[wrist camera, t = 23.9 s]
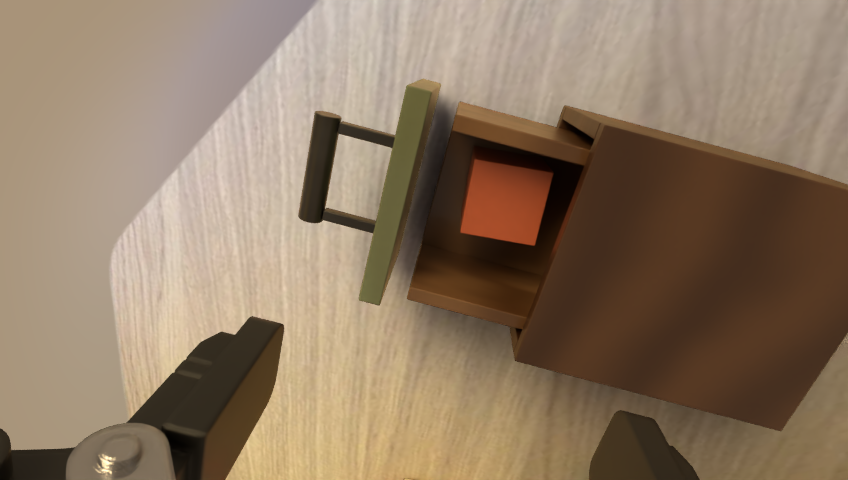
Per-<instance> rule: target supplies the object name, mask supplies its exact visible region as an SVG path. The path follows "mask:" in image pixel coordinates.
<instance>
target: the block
mask: <svg viewBox="0 0 848 480" xmlns="http://www.w3.org/2000/svg"><path fill="white" fill-rule="evenodd" d="M553 175H554V173H553V171H552V170H551V169H550V167H549V166H548V165H547V163H546V162H545V161H544V159H543V158H542V157H537V156H531V155H525V154H519V153H513V152H508V151H502V150H496V149H490V148H484V147H479V146H474V147H473V152H472V157H471V163H470V168H469V173H468V178H467V183H466V188H465V194H464V199H463V204H462V209H461V226H460V233H464V234H469V235H475V236H480V237H486V238H492V239H497V240H503V241H509V242H514V243H520V244H526V245H531V246H535V244H536V240H537V236H538V232H539V229H540V225H541V221H542V217H543V213H544V209H545V205H546V202H547V198H548V194H549V190H550V186H551V182H552V178H553Z"/></svg>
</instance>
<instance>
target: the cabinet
mask: <svg viewBox="0 0 848 480" xmlns="http://www.w3.org/2000/svg"><path fill="white" fill-rule="evenodd" d="M557 128H561V129H564V130H568V131H572V132H575V133H579V134H583V135H587V136H590V137H591V138H593V139H594V142H593V145H592V147H591V150H590V153H589V155H588V158H587V160H586V163H585V166H584V168H583V171H582V174H581V176H580V179H579V182H578V184H577V187H576V189H575V192H574V195H573V197H572V200H571V203H570V205H569V208H568V211H567V213H566V216H565V218H564V221H563V224H562V226H561V229H560V232H559V234H558V237H557V240H556V242H555V245H554V247H553V250H552V253H551V255H550V258H549V261H548V263H547V266H546V269H545V271H544V274H543V276H542V279H541V282H540V284H539V287H538V290H537V292H536V295H535V297H534V300H533V303H532V305H531V308H530V311H529V313H528V316H527V319H526V321H525V324H524V326H523V329H518V328H514V327H510V326H509V327H510V333H511V340H512V346H513V352H514V358H515V361H517V362H521V363H525V364H529V365H532V366H536V367H540V368H544V369H547V370H551V371H555V372H559V373H563V374H566V375H570V376H574V377H578V378H581V379H585V380H589V381H593V382H597V383H600V384H604V385H608V386H612V387H615V388H619V389H623V390H627V391H631V392H634V393H638V394H642V395H646V396H649V397H653V398H657V399H661V400H665V401H668V402H672V403H676V404H680V405H683V406H687V407H691V408H695V409H699V410H702V411H706V412H710V413H714V414H717V415H721V416H725V417H729V418H733V419H736V420H740V421H744V422H748V423H751V424H755V425H759V426H763V427H767V428H770V429H774V430H778V431H782V429H783V428H784V426H785V425H786V424H787V422H788V421H789V419H790V418H791V416H792V415H793V413H794V412H795V410H796V409H797V407H798V406H799V404H800V403H801V401H802V400H803V398H804V397H805V395H806V394H807V392H808V391H809V390H810V388H811V387H812V385H813V384H814V382H815V381H816V379H817V378H818V376H819V375H820V373H821V372H822V370H823V369H824V367H825V366H826V364H827V363H828V361H829V360H830V358H831V357H832V356H833V354H834V353H835V351H836V350H837V348H838V347H839V345H840V344H841V342H842V341H843V339H844V338H845V336H846V335H847V333H848V185H847V184H844V183H841V182H838V181H835V180H832V179H829V178H826V177H823V176H820V175H817V174H814V173H811V172H808V171H805V170H802V169H799V168H796V167H793V166H789V165H786V164H782V163H778V162H774V161H771V160H767V159H763V158H760V157H756V156H752V155H748V154H745V153H741V152H737V151H733V150H730V149H726V148H722V147H719V146H715V145H711V144H707V143H704V142H700V141H696V140H692V139H689V138H685V137H681V136H678V135H674V134H670V133H666V132H663V131H659V130H655V129H651V128H648V127H644V126H640V125H637V124H633V123H629V122H625V121H622V120H618V119H614V118H611V117H607V116H603V115H599V114H596V113H592V112H588V111H584V110H581V109H577V108H573V107H570V106H566V105H565V106H564V107H563V110H562V113H561V116H560V119H559V121H558V124H557Z"/></svg>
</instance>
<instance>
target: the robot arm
mask: <svg viewBox="0 0 848 480" xmlns="http://www.w3.org/2000/svg"><path fill="white" fill-rule="evenodd" d="M283 333H284V325H283V324H281V323H277V322H273V321H269V320H265V319H261V318H257V317H253V316H252V317H250V318H249V319H248V320H247V321H246V322H245V324H244V325H243V326H242V327H241V328H240V330H239V331H238V332H237V333H236V335H232V334H229V333H225V332H220V333H218V334H216V335H214V336H212V337H210V338H208V339H206V340H204V341H202V342H200V343H199V345H198V346H197V347H196V348H195V349H194V350H193V351H192V352H191V353H190V354H189V355H188V357H187V359H186V360H184V361H183V362H182V363H181V364H180V365H179V366H178V367H177V369H176V370H175V373H172V374H171V375H170V376H169V377H168V378H167V379H166V381H165V382H164V383H163V384H162V385H161V386H160V387H159V388H158V389H157V390H156V391H155V393H154V394H153V395H152V396H151V397H150V398H149V399H148V400H147V401H146V402H145V403H144V405H143V406H142V407H141V408H140V409H139V410H138V411H137V412H136V413H135V414H134V415H133V417H132V418H131V419H130V420H129V421H128V422H127V423H123V424H117V425H113V426H109V427H106V428H104V429H101V430H99V431H97V432H95V433H93V434H91V435H90V436H88V437H87V438H85V439H84V440H83V441H82V442H80V443H79V444H78V445H77V446H76V447H74V448H66V449H41V450H11V443H10V439H9V436H8V435H7V433H6V432H4V431H3V430H2V429H0V480H225V479H226V477H227V475H228V474H229V472H230V470H231V468H232V467H233V465H234V463H235V461H236V459H237V458H238V456H239V454H240V452H241V450H242V449H243V447H244V445H245V443H246V441H247V440H248V438H249V436H250V434H251V433H252V431H253V429H254V427H255V425H256V424H257V422H258V420H259V418H260V416H261V415H262V413H263V411H264V409H265V407H266V406H267V404H268V402H269V399H270V397H271V394H272V391H273V388H274V385H275V381H276V376H277V370H278V364H279V358H280V352H281V346H282V340H283ZM589 480H700V479H699V478H698V476H697V474H696V472H695V471H694V469H693V467H692V466H691V465H690V464H689V463H688V462H687V461H686V459H685V458H684V457H683V456H682V455H681V454H680V453H679V452H678V451H677V450H676V449H675V448H674V447H673V446H670V445H669V444H668V443H667V441H666V439H665V437H664V435H663V433H662V431H661V430H660V428H659V426H658V424H657V423H656V421H655V420H654V419H652V418H649V417H645V416H641V415H637V414H633V413H629V412H625V411H621V410H620V411H617V412H616V413H615V414H614V416H613V417H612V419H611V421H610V423H609V425H608V427H607V429H606V431H605V433H604V435H603V437H602V439H601V441H600V443H599V445H598V447H597V449H596V451H595V453H594V455H593V458H592V460H591V464H590V470H589Z"/></svg>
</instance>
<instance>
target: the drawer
mask: <svg viewBox="0 0 848 480" xmlns="http://www.w3.org/2000/svg"><path fill="white" fill-rule="evenodd" d="M440 87H441V84H440V83H437V82H434V81H430V80H426V79H421V80H419V81H416V82H414V83H411V84H409V85H407V86H406V90H405V95H404V99H403V104H402V108H401V113H400V117H399V122H398V126H397V130H396V135H392V134H388V133H385V132H381V131H377V130H373V129H370V128H366V127H362V126H359V125H355V124H351V123H347V122H344V121H342V122H341V117H340V116H339V115H336V114H333V113H329V112H324V111H316V112H315V115H314V121H313V127H312V133H311V140H310V146H309V152H308V158H307V165H306V171H305V177H304V183H303V189H302V196H301V202H300V208H299V214H298V216H299V218H300V219H301V220H303V221H306V222H310V223H320V222H322V221H323V220H325V221H329V222H333V223H336V224H340V225H344V226H348V227H351V228H355V229H359V230H363V231H366V232H370V233H373V237H372V241H371V246H370V250H369V255H368V259H367V264H366V268H365V273H364V277H363V281H362V286H361V290H360V295H359V300H360V301H364V302H368V303H371V304H375V305H380V304H381V301H382V298H383V295H384V292H385V290H386V287H387V284H388V281H389V279H390V276H391V273H392V270H393V268H394V265H395V262H396V259H397V257H398V254H399V251H400V247H401V243H402V239H403V235H404V231H405V227H406V223H407V219H408V215H409V211H410V207H411V203H412V199H413V195H414V191H415V187H416V183H417V179H418V175H419V171H420V167H421V163H422V159H423V155H424V151H425V147H426V143H427V139H428V135H429V131H430V127H431V123H432V119H433V115H434V111H435V107H436V103H437V99H438V95H439V91H440ZM339 134H342V135H346V136H350V137H354V138H357V139H361V140H365V141H369V142H372V143H376V144H380V145H384V146H387V147H391V148H392V153H391V157H390V162H389V166H388V170H387V175H386V179H385V184H384V188H383V193H382V197H381V201H380V206H379V210H378V215H377V219H376V221H375V220H371V219H367V218H363V217H360V216H356V215H352V214H348V213H345V212H341V211H337V210H333V209H329V208H326V209H325V206H326V201H327V195H328V190H329V184H330V179H331V173H332V168H333V162H334V157H335V151H336V146H337V140H338V135H339ZM593 142H594V139H593V138H591V137H590V136H587V135H583V134H579V133H575V132H572V131H568V130H564V129H561V128H557V127H553V126H549V125H546V124H542V123H538V122H534V121H531V120H527V119H523V118H520V117H516V116H512V115H508V114H505V113H501V112H497V111H493V110H490V109H486V108H482V107H478V106H475V105H471V104H467V103H464V102H459V103H458V107H457V111H456V115H455V118H454V122H453V126H452V130H451V133H450V137H449V141H448V145H447V148H446V152H445V156H444V160H443V163H442V167H441V171H440V175H439V178H438V182H437V186H436V190H435V193H434V197H433V201H432V205H431V208H430V212H429V216H428V220H427V223H426V227H425V231H424V234H423V238H422V242H421V246H420V249H419V253H418V257H417V261H416V265H415V269H414V273H413V276H412V280H411V284H410V288H409V292H408V296H407V299H408V300H412V301H416V302H420V303H424V304H427V305H431V306H435V307H439V308H442V309H446V310H450V311H454V312H457V313H461V314H465V315H469V316H473V317H476V318H480V319H484V320H488V321H491V322H495V323H499V324H503V325H507V326H510V327H514V328H518V329H523V326H524V324H525V321H526V319H527V316H528V313H529V311H530V308H531V305H532V303H533V300H534V297H535V295H536V292H537V290H538V287H539V284H540V282H541V279H542V276H543V274H544V271H545V269H546V266H547V263H548V261H549V258H550V255H551V253H552V250H553V247H554V245H555V242H556V240H557V237H558V234H559V232H560V229H561V226H562V224H563V221H564V218H565V216H566V213H567V211H568V208H569V205H570V203H571V200H572V197H573V195H574V192H575V189H576V187H577V184H578V182H579V179H580V176H581V174H582V171H583V168H584V166H585V163H586V160H587V158H588V155H589V153H590V150H591V147H592V145H593ZM474 146H479V147H484V148H490V149H496V150H502V151H508V152H513V153H519V154H525V155H531V156H537V157H542V158H543V159H544V161H545V162H546V163H547V165H548V166H549V167H550V169H551V170H552V171H553V173H554V175H553V178H552V182H551V186H550V190H549V194H548V198H547V202H546V205H545V209H544V213H543V217H542V221H541V225H540V229H539V232H538V236H537V240H536V244H535V246H531V245H526V244H520V243H514V242H509V241H503V240H497V239H492V238H486V237H480V236H475V235H469V234H464V233H460V226H461V209H462V204H463V199H464V194H465V188H466V183H467V178H468V173H469V168H470V163H471V157H472V152H473V147H474Z"/></svg>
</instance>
